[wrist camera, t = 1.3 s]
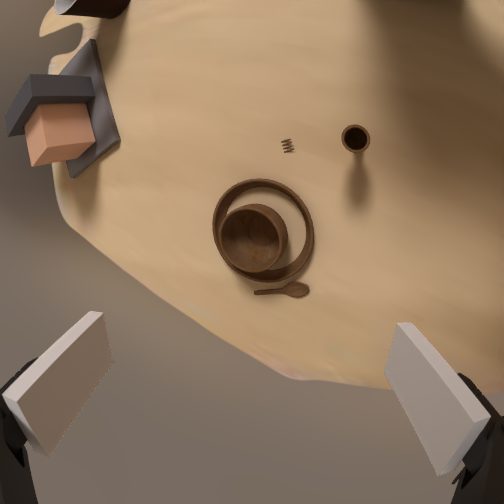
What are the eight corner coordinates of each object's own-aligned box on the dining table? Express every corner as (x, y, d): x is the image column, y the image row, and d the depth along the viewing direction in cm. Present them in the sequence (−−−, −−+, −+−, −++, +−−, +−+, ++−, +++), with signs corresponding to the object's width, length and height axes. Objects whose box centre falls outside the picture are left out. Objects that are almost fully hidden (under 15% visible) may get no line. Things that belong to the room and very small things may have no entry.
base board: (54, 85, 40) (50, 85, 39) (94, 39, 34) (90, 38, 33) (75, 177, 44) (70, 178, 43) (120, 140, 38) (115, 140, 37)
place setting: (200, 168, 35) (171, 173, 30) (365, 119, 26) (364, 112, 21) (241, 299, 39) (220, 322, 34) (398, 280, 30) (402, 305, 25)
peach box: (65, 109, 39) (22, 111, 31) (82, 89, 36) (36, 89, 28) (76, 158, 41) (32, 166, 33) (95, 141, 38) (47, 147, 30)
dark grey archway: (59, 111, 40) (5, 116, 30) (90, 76, 35) (29, 74, 25) (63, 129, 41) (7, 136, 31) (95, 96, 36) (32, 96, 26)
